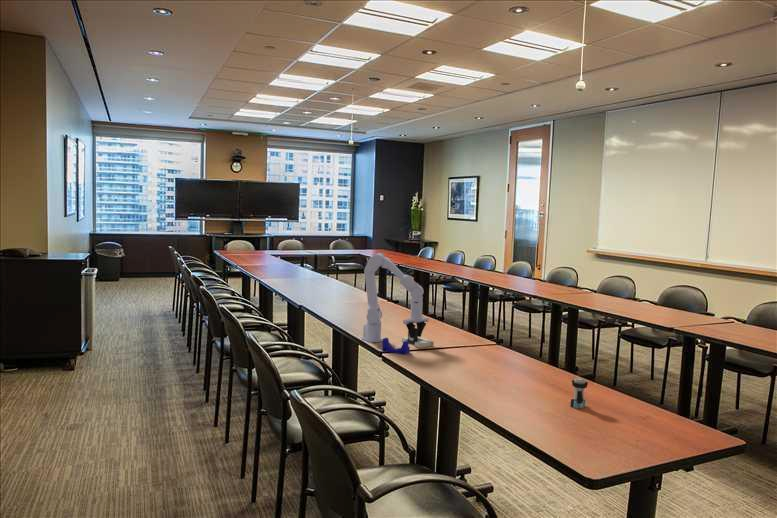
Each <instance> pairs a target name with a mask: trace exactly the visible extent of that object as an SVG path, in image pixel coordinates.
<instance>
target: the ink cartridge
mask: <svg viewBox="0 0 777 518" xmlns="http://www.w3.org/2000/svg"><path fill="white" fill-rule="evenodd" d="M407 337H408V341H409V344H410V345H413V346H415V342H418V329H417V327H415V329H414V337H413V338H411V337H410V335H409V331H407ZM409 344H408V345H409Z"/></svg>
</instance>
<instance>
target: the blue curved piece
mask: <svg viewBox="0 0 777 518" xmlns="http://www.w3.org/2000/svg"><path fill="white" fill-rule="evenodd" d="M382 339H383V341H382V347H381V349H382V352H385V353H386V352H387V353H392V354H399V355H404V356H406V355H407V354H409V353H410V348H411V347H410V346H409V341H404V342H402V345H401V347H397V348H395V347H393V346H392V345H391V343H390V340H389V337H384V338H382Z"/></svg>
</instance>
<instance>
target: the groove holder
mask: <svg viewBox="0 0 777 518" xmlns="http://www.w3.org/2000/svg"><path fill="white" fill-rule="evenodd" d="M404 341H408V336H403V337H402V338H401V342H402V343H403V342H404ZM426 346H427V347H433V346H434V341H433V340H431V339H427V338H424V337H422V336H421V337H418V341H417V342H415V345H414V347H416V348H419V349H420V348H425V347H426Z"/></svg>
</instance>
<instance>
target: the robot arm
mask: <svg viewBox="0 0 777 518" xmlns="http://www.w3.org/2000/svg"><path fill="white" fill-rule="evenodd" d="M380 267H381V268H383V269H387V270H388V271H390V272H391V273H392V274H393V275H394V276H395V277H396V278H397V279H399V284H400V285H401V286H402V287H403V288H404V289H405V290H406V291H408V292H409V293H410V296H411V301H410V317H409V318H406V319H403V320H402V324H404V325H405V326H406V328H407V330H408V331H409V335H410V337H411V338H413V337H414V329H415V328H417V329H418V337H422V334H423V331H424V329H425V327H426V326H427V323H428V322H429V321H430V319H429V317H423V305H424V303H423V299H424V296H423V295H424V292H425V291H424V288H423V286H422V285H420V284H419V282H416V281H415V280H414V279H413V276H412V275H409V274H405V273H403V271H401V269H399V268H398V267H397V266H396V265H395V263H394V262H393V261H392V260H391V259H390V258H389V257H387V256H386V255H385V254H384V253H382V252H378V253H376V254H373V255H372V256H371V257H369V258H368V260H367V263H366V265H365V267H364V271H363V273H364V280H365V288H366V289H365V290H366V297H367V314H366V320H367V321H366V322H365V323H364V324H363V330H362V337H361V340H364V341H366V342H368V343H370V344H371V343H372V344H373V343H377V342H379V343H380V342H383V339H384V338H382V321H381V319H382V317H383V313H382V310H381V309H380V308H381V307H380V304H379V300H378V293H377V283H376V282H377V281H376V274H375V272H377V270H378V269H379V268H380ZM408 331H407V332H408Z"/></svg>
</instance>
